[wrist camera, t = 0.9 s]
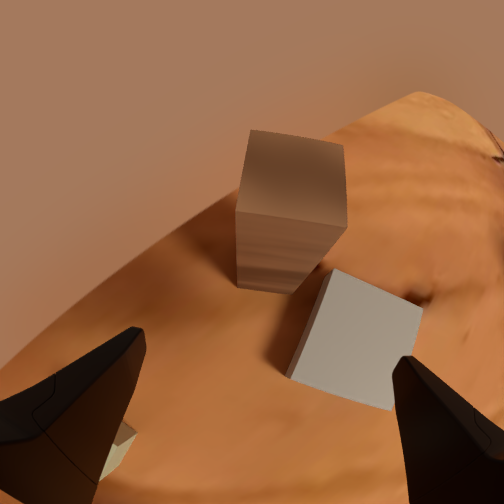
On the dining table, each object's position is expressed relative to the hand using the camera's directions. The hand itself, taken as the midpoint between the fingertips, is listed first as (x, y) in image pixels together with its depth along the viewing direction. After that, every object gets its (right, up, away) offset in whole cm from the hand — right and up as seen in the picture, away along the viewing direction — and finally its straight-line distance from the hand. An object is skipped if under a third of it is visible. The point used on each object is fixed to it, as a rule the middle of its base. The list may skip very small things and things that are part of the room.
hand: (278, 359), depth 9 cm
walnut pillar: (0, +2, +15) cm, 15 cm away
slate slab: (+8, -4, +13) cm, 16 cm away
